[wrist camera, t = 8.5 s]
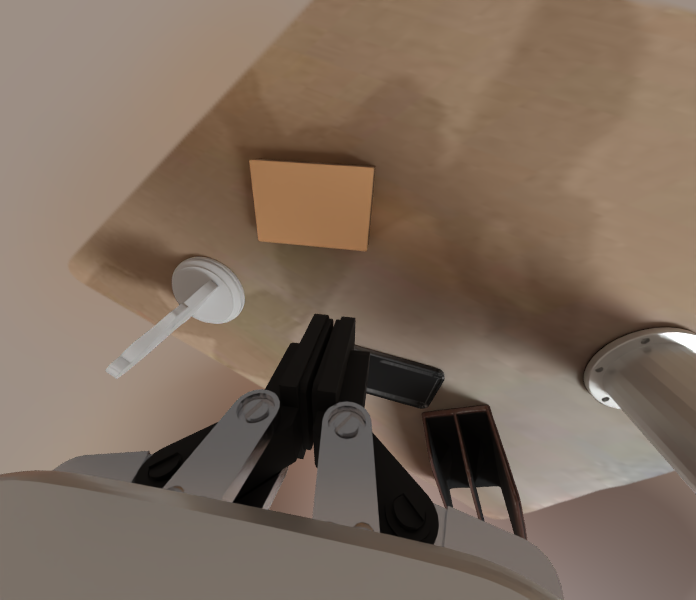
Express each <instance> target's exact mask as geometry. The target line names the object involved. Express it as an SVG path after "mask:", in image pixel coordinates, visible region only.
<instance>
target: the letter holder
mask: <svg viewBox="0 0 696 600" xmlns="http://www.w3.org/2000/svg"><path fill="white" fill-rule="evenodd" d="M422 418H423V424H424V431H425V438H426V443H427V450H428V456H429V460H430V464H431V467H432V471H433V474H434V477H435V480H436V483H437V486H438V489H439V492H440V495H441V498H442V501H443V503H444V506H445V508H446V509H447V506H450V507H452V508H453V505H452V500H451V495H450V489H452V488H470V489H471V493H472V497H473V500H474V504H475V508H476V511H477V515H478V519H480V520H482V521H484V518H483V513H482V509H481V505H480V501H479V497H478V493H477V489H476V487H489V486H499V487H501V489H502V493H503V497H504V500H505V503H506V507H507V510H508V514H509V517H510V521H511V524H512V528H513V531H514V535H516V536H519V537H521V538H523V539H526V540H527V535H526V528H525V523H524V517H523V512H522V506H521V501H520V497H519V494H518V490H517V487H516V485H515V482H514V479H513V475H512V472H511V469H510V466H509V463H508V460H507V457H506V454H505V451H504V448H503V445H502V442H501V439H500V436H499V433H498V430H497V427H496V424H495V422H494V419H493V416H492V412H491V409H490V406H489V405H480V406H472V407H463V408H455V409H447V410H439V411H431V412H423V413H422Z"/></svg>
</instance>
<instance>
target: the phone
mask: <svg viewBox="0 0 696 600" xmlns="http://www.w3.org/2000/svg"><path fill="white" fill-rule="evenodd" d="M354 350H359V351H367V352H370V362H369V373H368V383H367V391H366V393H367V394H370V395H374V396H378V397H381V398H385V399H388V400H392V401H395V402H399V403H402V404H406V405H410V406H413V407H417V408H421V409H422V408H427V407H428V406H429V405H430V403H431V401H432V400H433V398H434V396H435V395H436V393H437V391H438V390H439V388H440V386H441V385H442V383H443V381H444V379H445V378H444V373H443V371H442V370H440V369H438V368H434V367H430V366H427V365H423V364H420V363H416V362H413V361H409V360H405V359H402V358H398V357H395V356H391V355H388V354H384V353H380V352H377V351H373V350H370V349H366V348H363V347H359V346H355V345H354Z"/></svg>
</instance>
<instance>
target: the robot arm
mask: <svg viewBox="0 0 696 600" xmlns="http://www.w3.org/2000/svg"><path fill="white" fill-rule="evenodd" d="M354 345H355V318H352V317H342V318H341V320H336V322H335V325H334V327H333V319H329V316H328V315H323V314H314V316H313V318H312V320H311V322H310V324H309V326H308V328H307V330H306V332H305V334H304V336H303V338H302V340H301V342H300V343H291V344H290V345H289V347H288V349H287V351H286V352H285V354H284V356H283V358H282V360H281V361H280V363H279V365H278V367H277V369H276V370H275V372H274V374H273V376H272V378H271V379H270V381H269V383H268V385H267V387H266V388H265V390H263V389H261V390H254V391H251V392H248V393H246V394H244V395H243V396H241V397H240V398H239V399H238V400H237V401H236V402H235V403H234V404H233V405H232V407H231V408H230V409H229V410H228V411H227V412H226V414H225V415H224V416H223V417H222V418H221V420H220V421H219V422H217V423H215V424H213V425H211V426H209V427H207V428H204V429H202V430H200V431H198V432H196V433H194V434H192V435H189V436H188V437H185V438H183V439H181V440H179V441H177V442H175V443H173V444H170V445H168V446H166V447H164V448H162V449H161V450H159V451H157V452H156V453H154V454H150V452H149V451H141V452H126V453H111V454H96V455H84V456H79V457H75V458H73V459H71V460H68V461H66V462H64V463H63V464H61V465H60V466H58V467H57V468H55V469H54V470H53V471H39V470H38V471H37V470H35V471H21V472H14V473H6V474H1V475H0V600H564V597H563V592H562V587H561V583H560V580H559V578H558V575H557V572H556V570H555V568H554V567H553V565H552V564H551V562H550V560H549V559H548V557H547V556H546V555H544V553H543V552H542V551H541V550H540V549H539V548H537V546H535V545H533V544H532V543H530V542H529V541H527V540H526V539H523V538H521V537H519V536H516V535H514V534H512V533H510V532H507V531H505V530H502V529H500V528H498V527H496V526H494V525H491V524H489V523H487V522H484V521H482V520H480V519H477V518H475V517H473V516H471V515H468V514H466V513H464V512H461V511H459V510H457V509H454V508H452V507H450V506H447V509H446V508H443V507H441V506H439V505H436V504H434V503H433V502H432V501H431V499H430V498H429V496H428V495H427V494H426V493H425V492H424V491H423V489H422V488H421V487H420V486H419V485H418V484H417V482H415V480H414V479H413V478H412V477H411V476H410V475H409V474H408V472H407V471H406V470H405V469H404V468H403V467H402V465H401V464H400V463H399V462H398V461H397V460H396V459H395V457H394V456H393V455H392V454H391V453H390V452H389V451H388V450H387V448H386V447H385V446H384V445H383V444H382V443H381V442H380V440H379V439H378V438H377V437H376V436H375V435H374V434H373V432H372V423H371V418H370V415H369V413H368V412H367V410H366V409H365V408H364V407H365V399H366V391H367V383H368V373H369V362H370V352H367V351H359V350H354ZM584 383H585V386H586V388H587V390H588V391H589V393H590V394H591V395H592V396H593V397H594V398H595V399H596V400H597V401H599V402H600V403H602V404H604V405H606V406H609V407H613V408H617V409H622V411H623V412H624V413H625V414H626V415H627V416H628V417H629V419H630V420H631V421H632V422H633V423H634V424H635V425H636V427H637V428H638V429H639V430H640V431H641V432H642V433H643V435H644V436H645V437H646V438H647V439H648V440H649V441H650V443H651V444H652V445H653V446H654V447H655V448H656V449H657V451H658V452H659V453H660V454H661V455H662V456H663V457H664V459H665V460H666V461H667V462H668V463H669V464H670V465H671V467H672V468H673V469H674V470H675V471H676V472H677V473H678V474H679V476H680V477H681V478H682V479H683V480H684V481H685V483H686V484H687V485H688V486H689V487H690V488H691V489H692V491H693V492H694V493H695V494H696V334H695V333H693V332H691V331H688V330H684V329H680V328H670V327H664V328H652V329H646V330H641V331H638V332H634V333H631V334H628V335H625V336H623V337H621V338H618V339H616V340H615V341H613V342H611V343H609V344H608V345H606V346H605V347H604V348H602V349H601V350H600V351H598V352H597V354H596V355H595V356H594V357H593V358H592V359H591V360H590V362H589V363H588V365H587V367H586V370H585V372H584ZM313 442H314V457H315V465H316V467H317V469H318V470H317V479H316V489H315V498H314V508H313V518H312V519H311V518H306V517H301V516H296V515H291V514H286V513H281V512H276V511H271V510H269V508H270V506H271V504H272V502H273V500H274V498H275V496H276V494H277V492H278V490H279V488H280V486H281V484H282V482H283V480H284V478H285V476H286V473H287V470H288V466H289V465H291V464H292V463H294V462H295V461H296V460H297V458H300V459H303V458H304V455H305V452H306V449H307V450H311V449H312V446H313Z"/></svg>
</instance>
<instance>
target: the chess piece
mask: <svg viewBox="0 0 696 600" xmlns="http://www.w3.org/2000/svg"><path fill="white" fill-rule="evenodd" d="M172 289H173V293H174V296H175V298H176V300H177V302H178V303H179V306H178V307H177V308H175V309H174V310H173V311H171V312H170V313H169V314H168V315H167V316H165V317H164V318H163V319H162V320H161V321H159V322H158V323H157V324H156V325H155V326H154V327H153V328H152V329H150V330H149V331H147V332H146V333H145V334H144V335H143V336H142V337H140V338H138V339H137V340H136V341H135V342H134V343H133V344H132V345H130V346H129V347H128V348H127V349H126V350H125V351H124V352H123V353H122V354H121V356H119V357H118V358H117V359H116V360H115V361H113V362H112V363H111V364H110V365H109V367H108V368H107V369H106V372H107V373H109V374H110V375H112V376H113V377H115V378H116V379H117V378H118V377H120V376H122V375H123V374H124V373H126V372H127V371H128V370H129V369H131V368H132V367H133V366H134V365H135V364H137V363H138V362H139V361H140V360H141V359H143V358H144V357H145V356H146V355H147V354H148V353H150V352H151V351H152V350H153V349H154V348H155V347H156V346H157V345H158V344H160V343H161V342H162V341H163V340H164V339H165V338H166V337H167V336H169V335H170V334H171V333H172V332H173V331H174V330H175V329H177V328H178V327H179V326H180V325H181V324H183V323H185V322H186V321H187V320H188V319H189V318H190V317H191V316H192V317H194V318H196V319H198V320H200V321H203V322H207V323H214V324H220V323H226V322H228V321H230V320H232V319H234V318H236V317H237V316H238V315H239V314H240V312H241V311H242V309H243V307H244V302H245V295H244V290H243V287H242V285H241V283H240V281H239V280H238V278H237V277H236V275H235V274H234V273H233V272H232V271H231V270H230V269H229V268H228V267H226V266H225V265H223V264H222V263H220V262H218V261H216V260H214V259H211V258H207V257H192V258H189V259H186V260H184V261H183V262H181V263H180V264H179V265H178V266H177V268H176V269H175V271H174V273H173V276H172Z"/></svg>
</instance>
